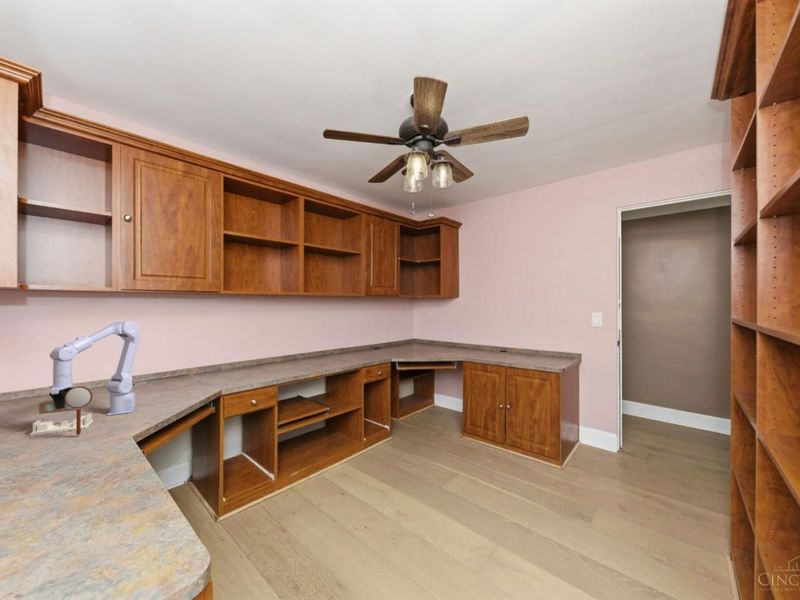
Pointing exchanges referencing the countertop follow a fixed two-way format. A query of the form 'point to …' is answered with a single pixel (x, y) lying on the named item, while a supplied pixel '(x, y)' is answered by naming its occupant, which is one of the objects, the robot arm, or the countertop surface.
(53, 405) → the tan wooden plank
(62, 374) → the robot arm
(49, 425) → the display stand
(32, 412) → the countertop surface
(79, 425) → the magnifying glass
